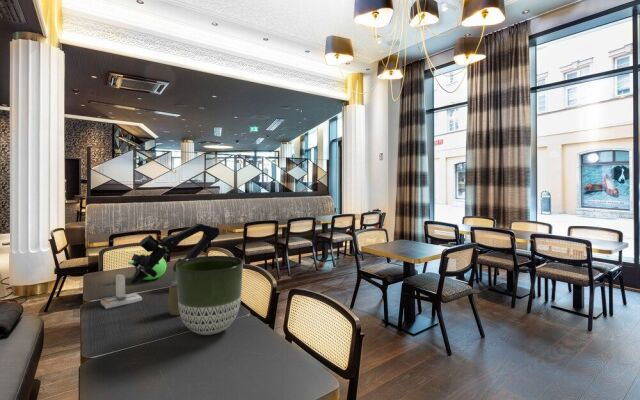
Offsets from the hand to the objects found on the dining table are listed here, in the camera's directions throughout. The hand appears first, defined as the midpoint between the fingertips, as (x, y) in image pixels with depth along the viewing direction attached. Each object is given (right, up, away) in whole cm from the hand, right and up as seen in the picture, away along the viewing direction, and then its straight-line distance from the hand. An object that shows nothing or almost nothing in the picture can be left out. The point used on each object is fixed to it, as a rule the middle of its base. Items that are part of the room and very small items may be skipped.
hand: (131, 283), depth 157 cm
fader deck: (-3, -8, -3) cm, 9 cm away
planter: (+49, -11, -31) cm, 59 cm away
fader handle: (-3, -7, -3) cm, 8 cm away
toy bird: (-9, -7, +35) cm, 36 cm away
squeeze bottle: (+29, -10, -15) cm, 34 cm away
